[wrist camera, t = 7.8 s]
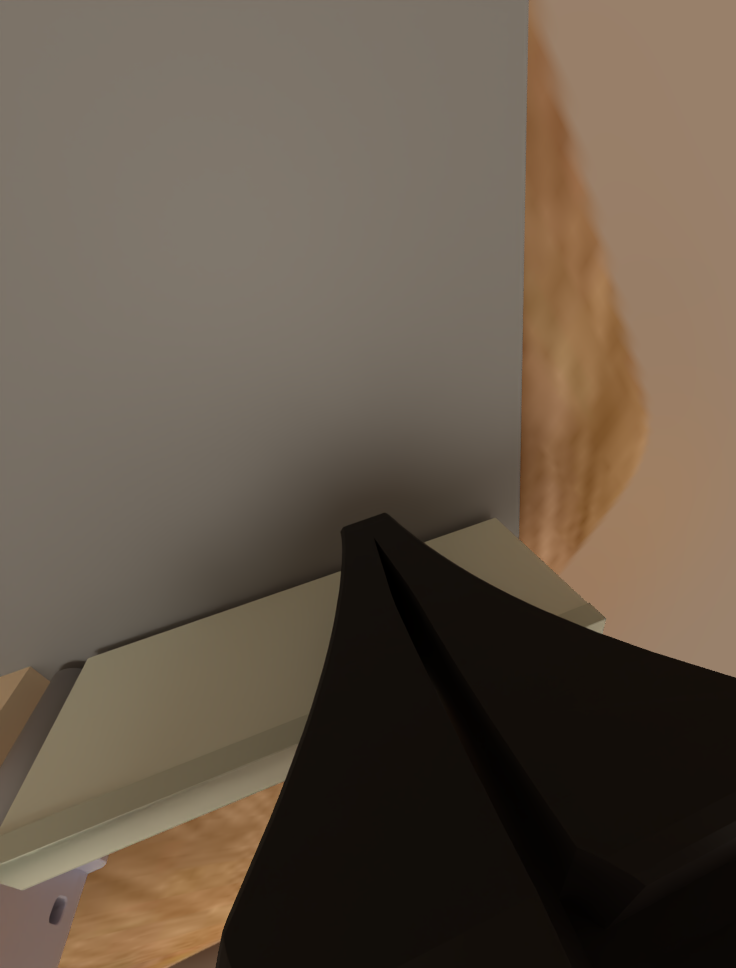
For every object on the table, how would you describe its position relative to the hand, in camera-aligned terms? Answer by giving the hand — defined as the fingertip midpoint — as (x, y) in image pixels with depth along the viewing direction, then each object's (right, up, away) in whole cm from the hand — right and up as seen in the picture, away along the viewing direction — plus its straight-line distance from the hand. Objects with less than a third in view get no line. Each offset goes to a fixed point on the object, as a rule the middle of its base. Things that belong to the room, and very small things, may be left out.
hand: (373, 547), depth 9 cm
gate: (-3, -2, +2) cm, 4 cm away
